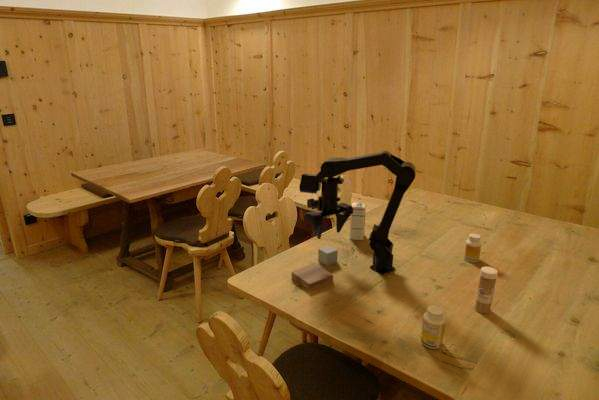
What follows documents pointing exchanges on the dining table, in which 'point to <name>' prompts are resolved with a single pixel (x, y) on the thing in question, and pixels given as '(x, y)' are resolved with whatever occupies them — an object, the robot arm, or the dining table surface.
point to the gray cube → (327, 255)
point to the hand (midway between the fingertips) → (328, 235)
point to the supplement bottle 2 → (472, 248)
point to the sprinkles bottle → (486, 289)
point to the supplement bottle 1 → (433, 327)
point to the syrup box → (357, 221)
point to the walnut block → (312, 277)
